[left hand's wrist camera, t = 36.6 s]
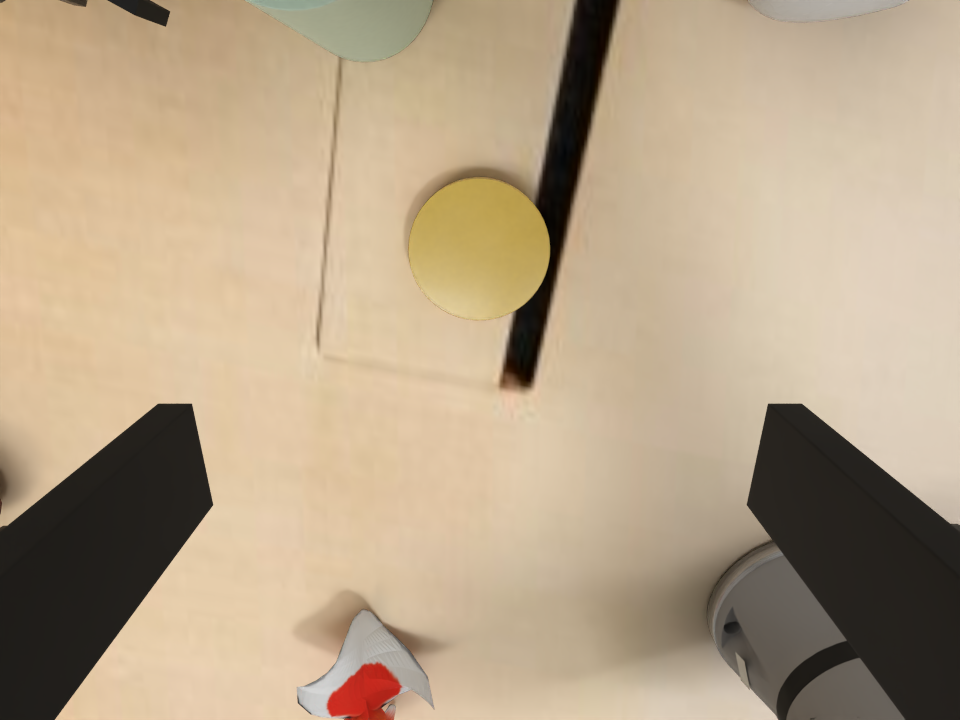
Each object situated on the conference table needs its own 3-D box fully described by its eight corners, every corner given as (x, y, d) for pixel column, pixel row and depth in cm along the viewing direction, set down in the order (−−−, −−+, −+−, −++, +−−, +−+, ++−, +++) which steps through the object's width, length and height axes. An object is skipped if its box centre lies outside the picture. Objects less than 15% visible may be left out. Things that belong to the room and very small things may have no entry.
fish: (264, 761, 49) (276, 856, 40) (307, 583, 50) (328, 636, 41) (380, 752, 53) (414, 835, 44) (417, 589, 55) (458, 637, 46)
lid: (572, 265, 38) (576, 270, 36) (462, 337, 39) (462, 345, 38) (497, 147, 35) (498, 147, 33) (383, 230, 37) (379, 234, 35)
